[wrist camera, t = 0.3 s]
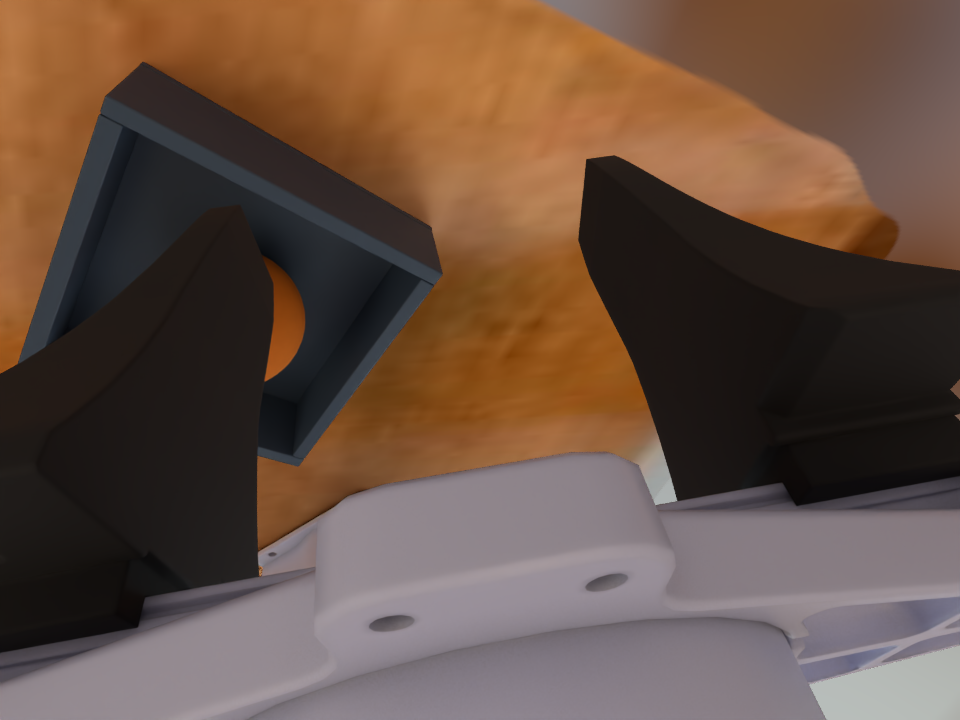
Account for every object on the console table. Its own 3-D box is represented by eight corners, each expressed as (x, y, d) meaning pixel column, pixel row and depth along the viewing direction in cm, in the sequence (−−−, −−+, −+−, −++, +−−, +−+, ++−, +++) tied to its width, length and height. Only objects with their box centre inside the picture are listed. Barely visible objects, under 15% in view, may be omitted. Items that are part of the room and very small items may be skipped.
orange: (246, 351, 25) (226, 445, 21) (137, 273, 22) (89, 366, 18) (335, 287, 24) (333, 373, 20) (234, 193, 21) (206, 274, 16)
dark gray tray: (302, 409, 29) (298, 467, 26) (49, 327, 23) (9, 389, 20) (431, 227, 23) (443, 274, 21) (142, 60, 18) (105, 94, 15)
